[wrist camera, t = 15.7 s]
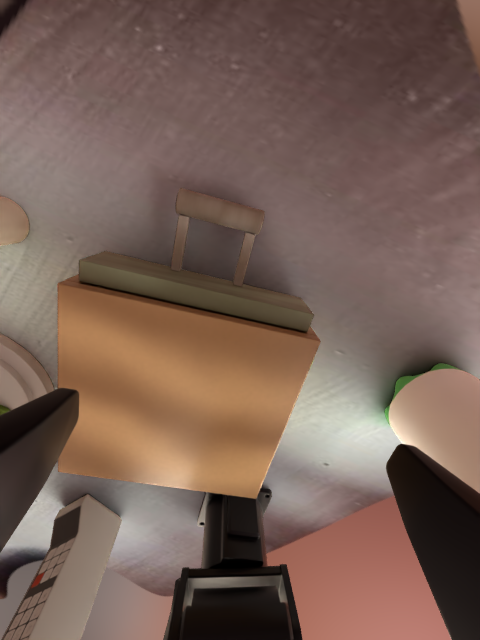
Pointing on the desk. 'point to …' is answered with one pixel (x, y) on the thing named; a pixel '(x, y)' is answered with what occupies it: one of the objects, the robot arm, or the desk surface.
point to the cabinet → (175, 390)
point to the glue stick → (12, 222)
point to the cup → (441, 418)
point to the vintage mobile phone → (67, 574)
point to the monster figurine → (20, 376)
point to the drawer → (197, 286)
